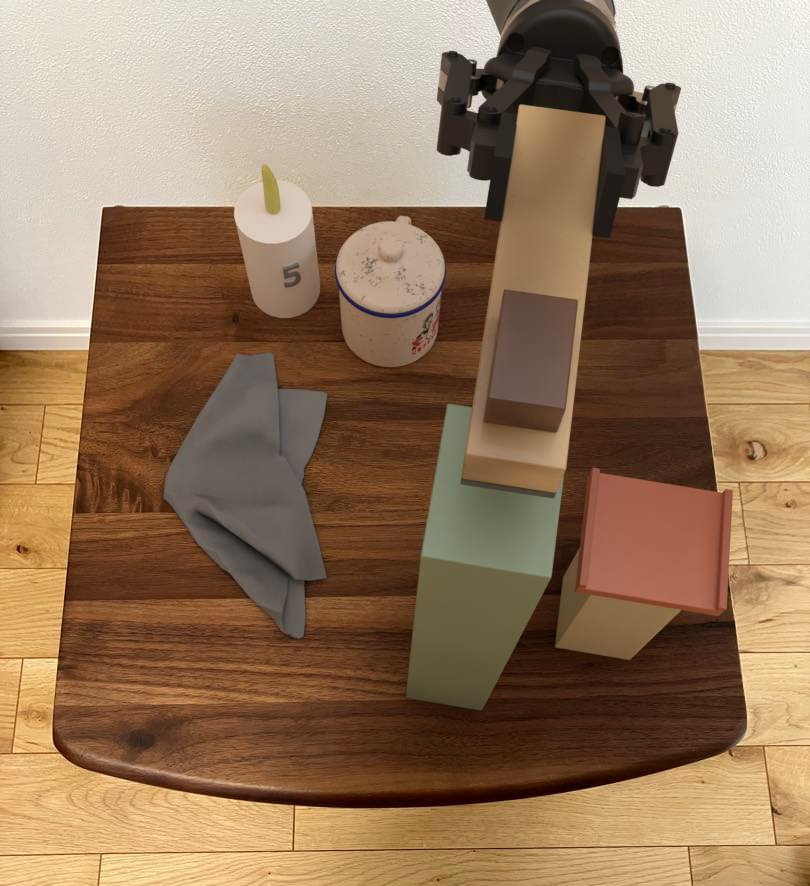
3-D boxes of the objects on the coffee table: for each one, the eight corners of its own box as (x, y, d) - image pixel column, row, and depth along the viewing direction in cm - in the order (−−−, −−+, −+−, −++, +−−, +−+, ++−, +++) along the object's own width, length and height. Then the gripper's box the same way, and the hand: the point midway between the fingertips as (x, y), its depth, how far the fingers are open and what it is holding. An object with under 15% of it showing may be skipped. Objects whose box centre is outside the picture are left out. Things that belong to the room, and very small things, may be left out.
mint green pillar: (495, 613, 77) (570, 422, 46) (481, 711, 74) (551, 578, 43) (422, 600, 77) (447, 402, 46) (405, 697, 74) (420, 556, 44)
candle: (265, 329, 86) (241, 218, 72) (241, 272, 88) (214, 153, 74) (331, 307, 87) (320, 193, 73) (306, 251, 89) (291, 129, 75)
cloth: (178, 352, 85) (173, 338, 83) (334, 354, 85) (332, 340, 83) (150, 638, 76) (144, 631, 74) (325, 640, 76) (323, 632, 74)
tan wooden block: (593, 162, 47) (615, 79, 42) (554, 499, 40) (575, 447, 36) (511, 151, 47) (524, 68, 42) (460, 485, 40) (468, 431, 36)
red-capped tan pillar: (655, 580, 78) (733, 489, 61) (647, 675, 75) (726, 609, 58) (546, 562, 79) (592, 467, 61) (534, 656, 76) (579, 584, 58)
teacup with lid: (431, 379, 84) (438, 302, 73) (330, 362, 85) (322, 283, 74) (452, 267, 88) (462, 178, 78) (355, 252, 89) (351, 161, 78)
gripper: (679, 146, 61) (727, 309, 43) (413, 108, 61) (348, 252, 43) (716, 14, 56) (786, 135, 38) (426, -26, 56) (360, 74, 38)
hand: (553, 197), depth 41 cm, fingers closed on tan wooden block, 4 cm apart
